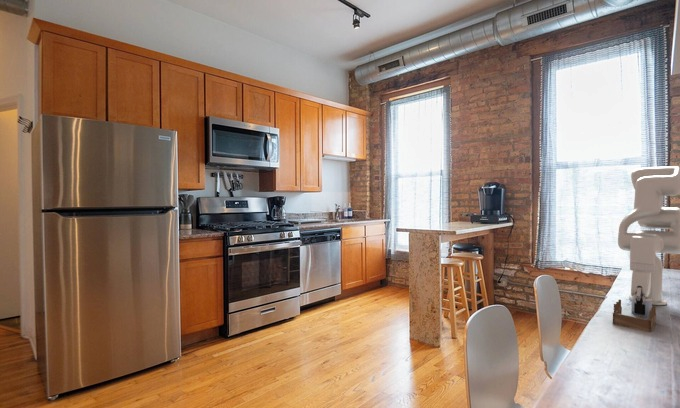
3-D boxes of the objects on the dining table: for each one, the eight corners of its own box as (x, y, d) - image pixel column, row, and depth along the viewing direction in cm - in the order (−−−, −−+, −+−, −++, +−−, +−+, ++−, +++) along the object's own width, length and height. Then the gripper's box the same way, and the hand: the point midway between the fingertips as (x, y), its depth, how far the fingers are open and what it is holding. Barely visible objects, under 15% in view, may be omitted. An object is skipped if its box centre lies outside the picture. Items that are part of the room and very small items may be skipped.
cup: (632, 311, 144) (633, 294, 144) (652, 315, 139) (653, 297, 139) (629, 314, 140) (630, 297, 140) (650, 318, 135) (650, 300, 135)
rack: (619, 316, 138) (619, 298, 137) (656, 323, 130) (656, 304, 129) (612, 323, 130) (612, 305, 129) (651, 332, 122) (651, 312, 121)
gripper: (634, 263, 148) (633, 305, 148) (625, 268, 136) (624, 314, 137) (658, 265, 142) (657, 309, 143) (651, 271, 131) (650, 319, 131)
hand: (641, 311), depth 140 cm, fingers open, 7 cm apart
